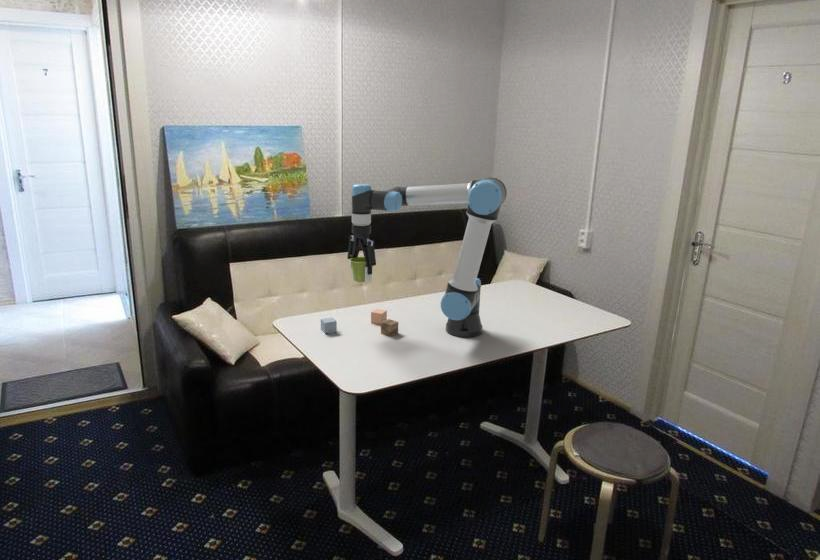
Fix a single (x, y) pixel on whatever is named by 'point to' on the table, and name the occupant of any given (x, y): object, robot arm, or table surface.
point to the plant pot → (358, 268)
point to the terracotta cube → (378, 316)
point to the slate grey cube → (328, 325)
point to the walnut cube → (389, 327)
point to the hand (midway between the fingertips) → (361, 279)
